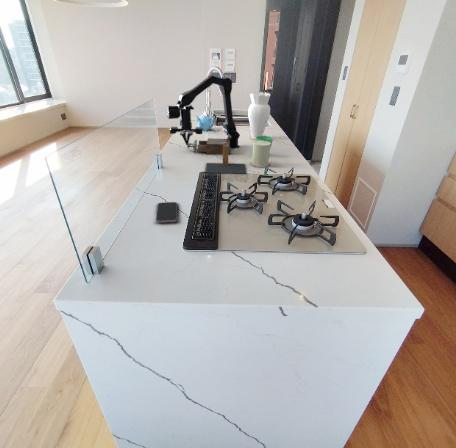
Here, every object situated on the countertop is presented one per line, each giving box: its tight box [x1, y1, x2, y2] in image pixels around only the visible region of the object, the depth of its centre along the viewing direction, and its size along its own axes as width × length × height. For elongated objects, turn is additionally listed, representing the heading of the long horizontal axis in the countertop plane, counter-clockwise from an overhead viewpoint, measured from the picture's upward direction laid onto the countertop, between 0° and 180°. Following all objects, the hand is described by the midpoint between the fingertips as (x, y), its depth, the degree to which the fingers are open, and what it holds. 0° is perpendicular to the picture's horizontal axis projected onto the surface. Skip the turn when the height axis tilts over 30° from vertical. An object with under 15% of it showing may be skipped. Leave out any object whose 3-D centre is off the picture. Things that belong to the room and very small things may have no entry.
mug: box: [255, 134, 274, 149], centre depth 167 cm, size 15×10×10 cm
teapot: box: [195, 114, 215, 132], centre depth 217 cm, size 13×13×10 cm
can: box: [250, 140, 272, 168], centre depth 150 cm, size 9×9×12 cm
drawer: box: [186, 139, 207, 153], centre depth 171 cm, size 16×11×4 cm
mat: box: [205, 162, 247, 175], centre depth 147 cm, size 20×14×1 cm
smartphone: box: [155, 201, 178, 224], centre depth 105 cm, size 7×1×15 cm
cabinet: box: [206, 137, 231, 156], centre depth 171 cm, size 14×13×6 cm
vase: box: [247, 91, 271, 141], centre depth 193 cm, size 15×15×29 cm
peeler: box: [222, 142, 230, 165], centre depth 148 cm, size 3×3×12 cm
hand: (187, 145), depth 171 cm, fingers closed
